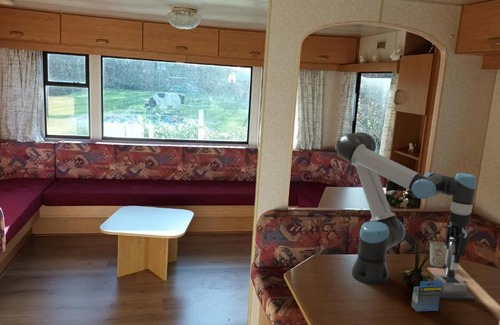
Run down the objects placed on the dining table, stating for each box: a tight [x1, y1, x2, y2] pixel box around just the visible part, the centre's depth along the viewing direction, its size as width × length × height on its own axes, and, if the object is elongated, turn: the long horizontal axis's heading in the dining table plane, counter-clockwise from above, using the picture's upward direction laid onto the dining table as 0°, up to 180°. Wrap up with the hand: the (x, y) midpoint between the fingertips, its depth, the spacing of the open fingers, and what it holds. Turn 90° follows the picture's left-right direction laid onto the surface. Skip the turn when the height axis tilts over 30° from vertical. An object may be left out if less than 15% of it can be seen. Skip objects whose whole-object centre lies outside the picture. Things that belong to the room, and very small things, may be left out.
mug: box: [429, 241, 447, 268], centre depth 196 cm, size 8×13×10 cm, turn 145°
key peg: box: [444, 236, 457, 278], centre depth 167 cm, size 5×5×16 cm
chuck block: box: [431, 274, 476, 301], centre depth 169 cm, size 14×14×5 cm
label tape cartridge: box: [410, 280, 442, 312], centre depth 153 cm, size 9×4×12 cm, turn 99°
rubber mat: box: [427, 267, 467, 283], centre depth 184 cm, size 12×12×1 cm
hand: (451, 266), depth 167 cm, fingers closed on key peg, 4 cm apart
